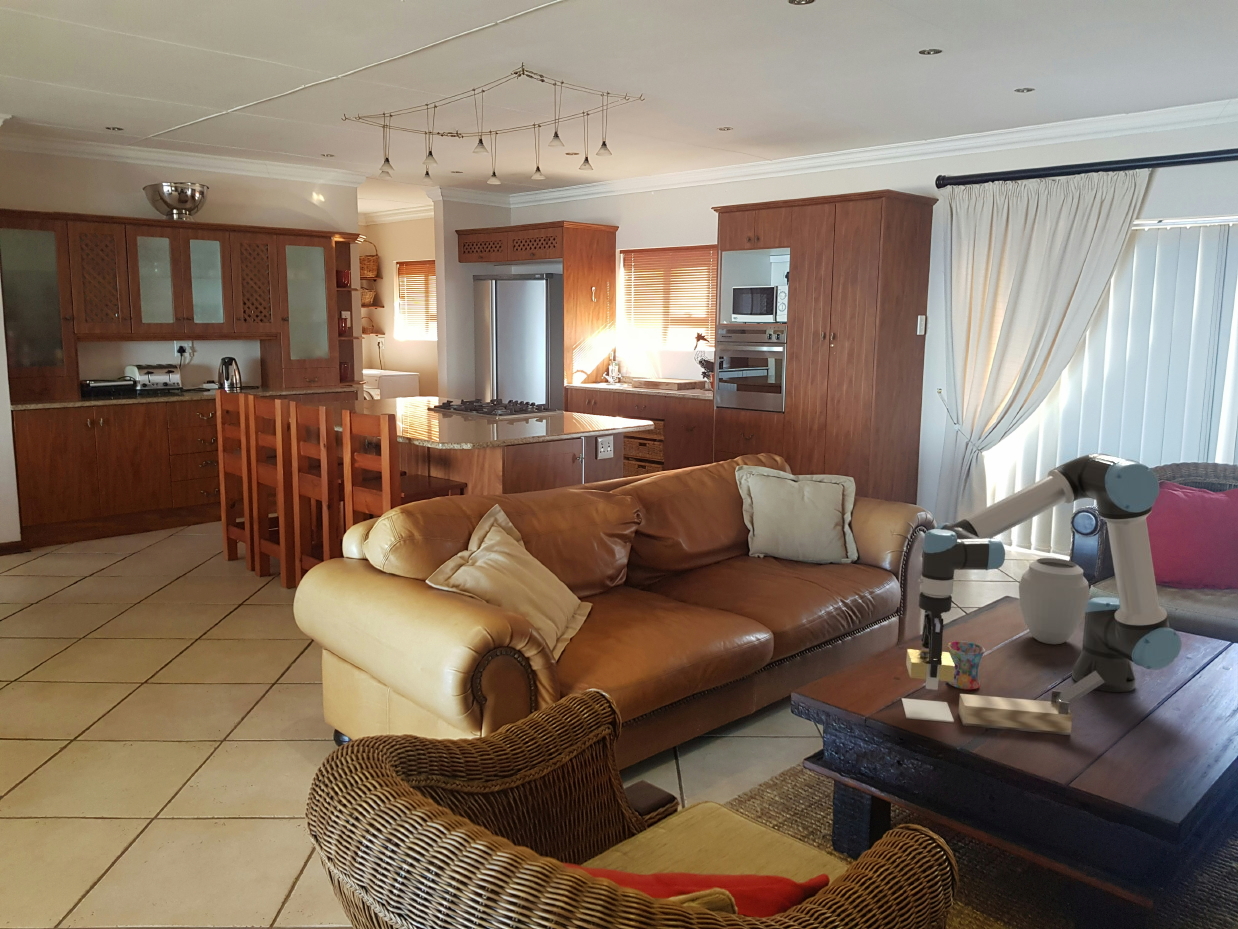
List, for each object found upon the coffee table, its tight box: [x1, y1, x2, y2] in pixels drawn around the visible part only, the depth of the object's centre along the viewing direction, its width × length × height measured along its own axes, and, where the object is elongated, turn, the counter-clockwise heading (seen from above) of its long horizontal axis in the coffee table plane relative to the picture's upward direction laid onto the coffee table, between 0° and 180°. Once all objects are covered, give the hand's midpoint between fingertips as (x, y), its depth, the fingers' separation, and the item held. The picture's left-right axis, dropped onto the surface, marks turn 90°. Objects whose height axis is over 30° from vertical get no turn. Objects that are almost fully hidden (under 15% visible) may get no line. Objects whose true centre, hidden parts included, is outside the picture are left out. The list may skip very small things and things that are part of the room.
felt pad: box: [901, 697, 955, 723], centre depth 227 cm, size 11×11×1 cm
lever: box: [1054, 671, 1105, 706], centre depth 216 cm, size 1×5×12 cm
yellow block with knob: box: [905, 648, 955, 682], centre depth 225 cm, size 10×9×5 cm
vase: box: [1018, 557, 1091, 645], centre depth 276 cm, size 20×20×24 cm
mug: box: [946, 640, 986, 690], centre depth 243 cm, size 12×9×11 cm
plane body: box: [957, 689, 1073, 736], centre depth 220 cm, size 24×7×8 cm, turn 79°
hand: (928, 680), depth 226 cm, fingers closed on yellow block with knob, 9 cm apart
